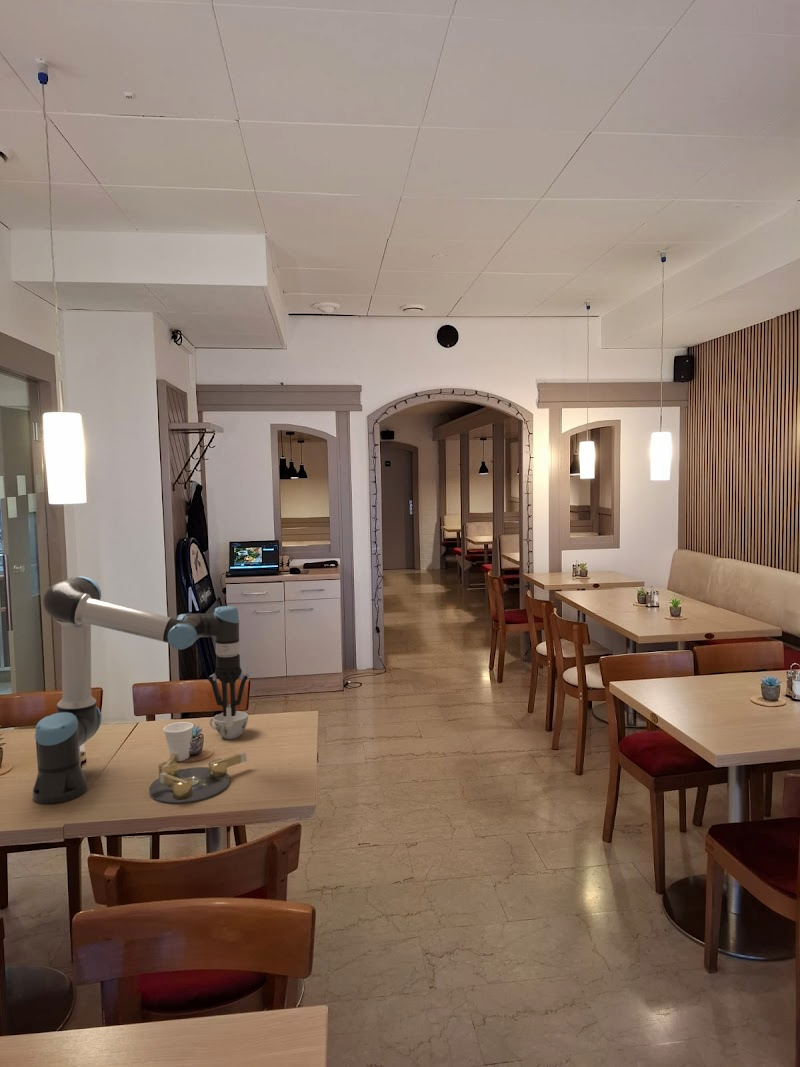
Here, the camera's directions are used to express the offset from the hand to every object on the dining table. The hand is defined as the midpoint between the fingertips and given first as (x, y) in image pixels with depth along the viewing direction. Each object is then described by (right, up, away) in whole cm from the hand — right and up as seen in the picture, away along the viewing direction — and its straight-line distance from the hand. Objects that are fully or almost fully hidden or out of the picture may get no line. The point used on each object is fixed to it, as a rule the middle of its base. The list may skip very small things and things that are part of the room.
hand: (229, 725), depth 230 cm
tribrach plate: (-10, -16, -10) cm, 21 cm away
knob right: (0, -14, -3) cm, 14 cm away
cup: (-20, -15, +12) cm, 28 cm away
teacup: (-8, -13, +32) cm, 35 cm away
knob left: (-18, -14, -3) cm, 23 cm away
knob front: (-12, -15, -17) cm, 26 cm away
